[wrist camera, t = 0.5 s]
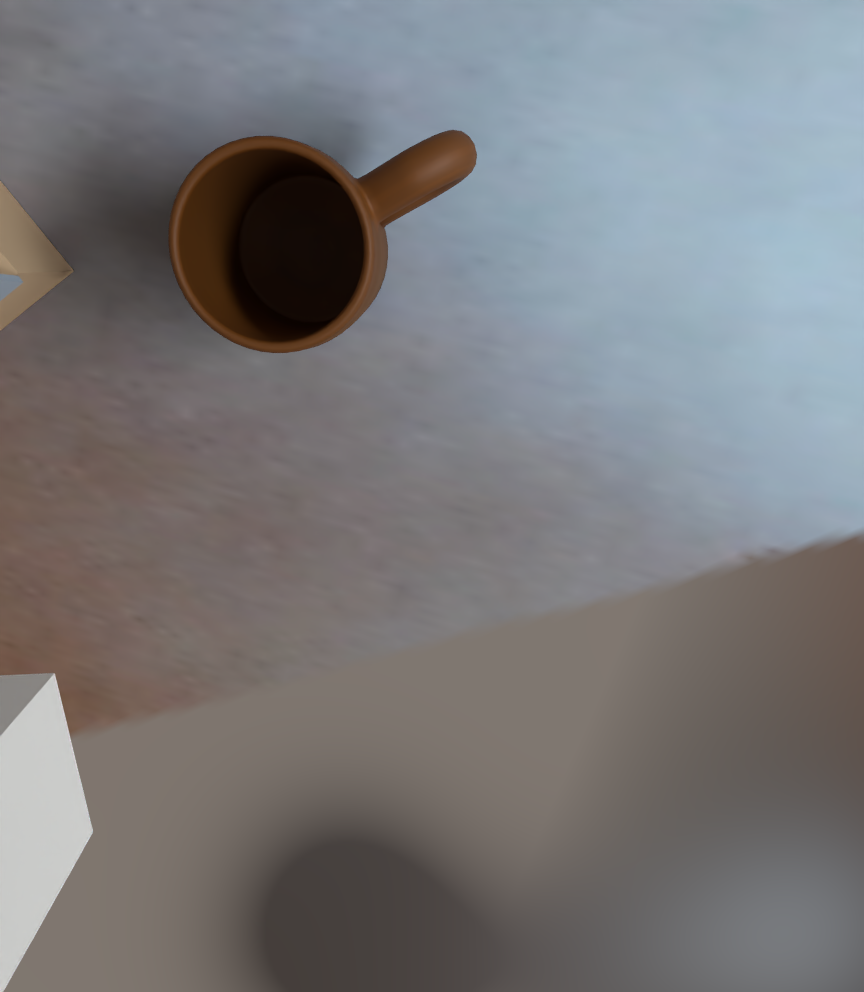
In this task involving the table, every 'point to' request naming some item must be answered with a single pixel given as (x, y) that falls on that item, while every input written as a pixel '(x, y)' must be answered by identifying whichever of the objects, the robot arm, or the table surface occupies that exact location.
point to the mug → (296, 234)
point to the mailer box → (25, 259)
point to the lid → (8, 284)
